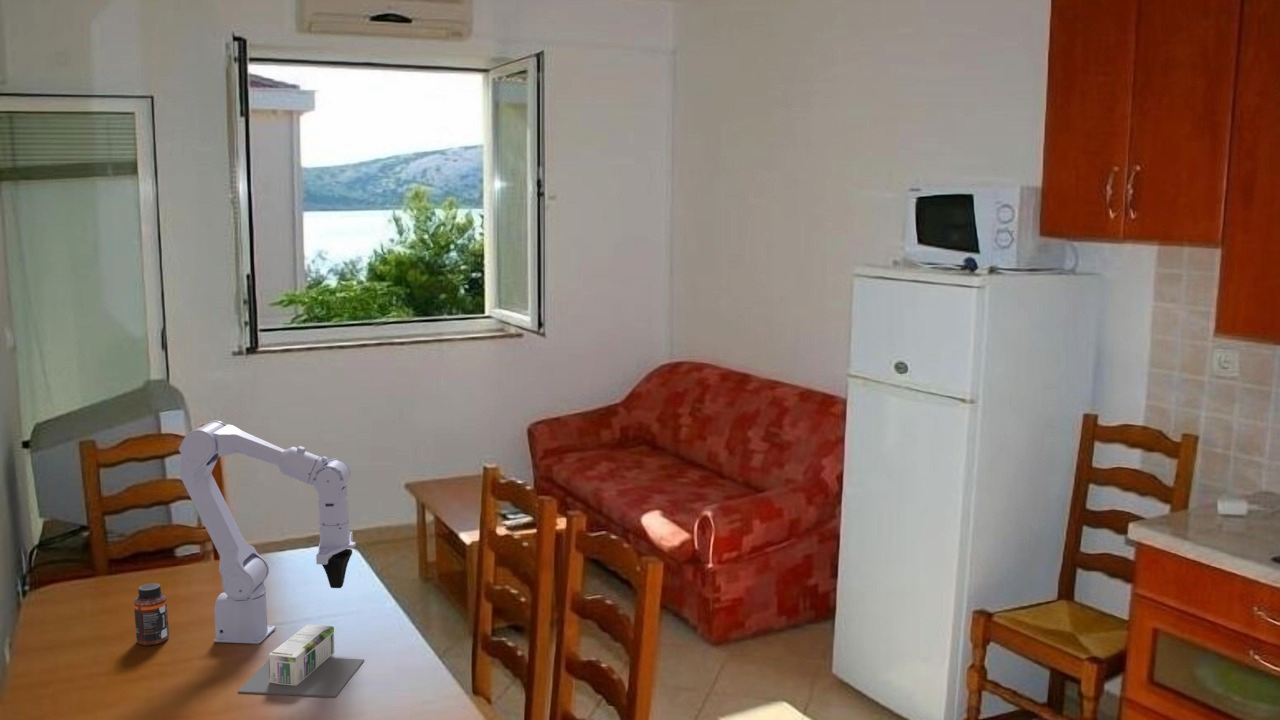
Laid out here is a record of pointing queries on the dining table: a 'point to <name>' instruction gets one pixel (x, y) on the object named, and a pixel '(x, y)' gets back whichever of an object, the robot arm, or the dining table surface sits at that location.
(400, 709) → the dining table surface
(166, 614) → the supplement bottle
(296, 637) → the syrup box
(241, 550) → the robot arm
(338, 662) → the charcoal mat
